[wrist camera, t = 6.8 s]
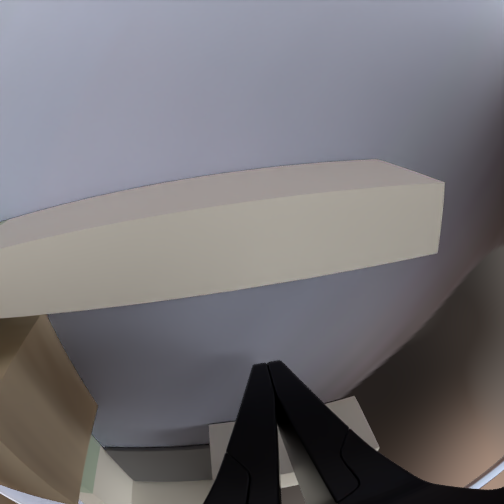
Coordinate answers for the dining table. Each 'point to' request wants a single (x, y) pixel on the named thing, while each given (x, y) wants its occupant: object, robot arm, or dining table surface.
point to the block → (41, 412)
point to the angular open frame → (211, 274)
